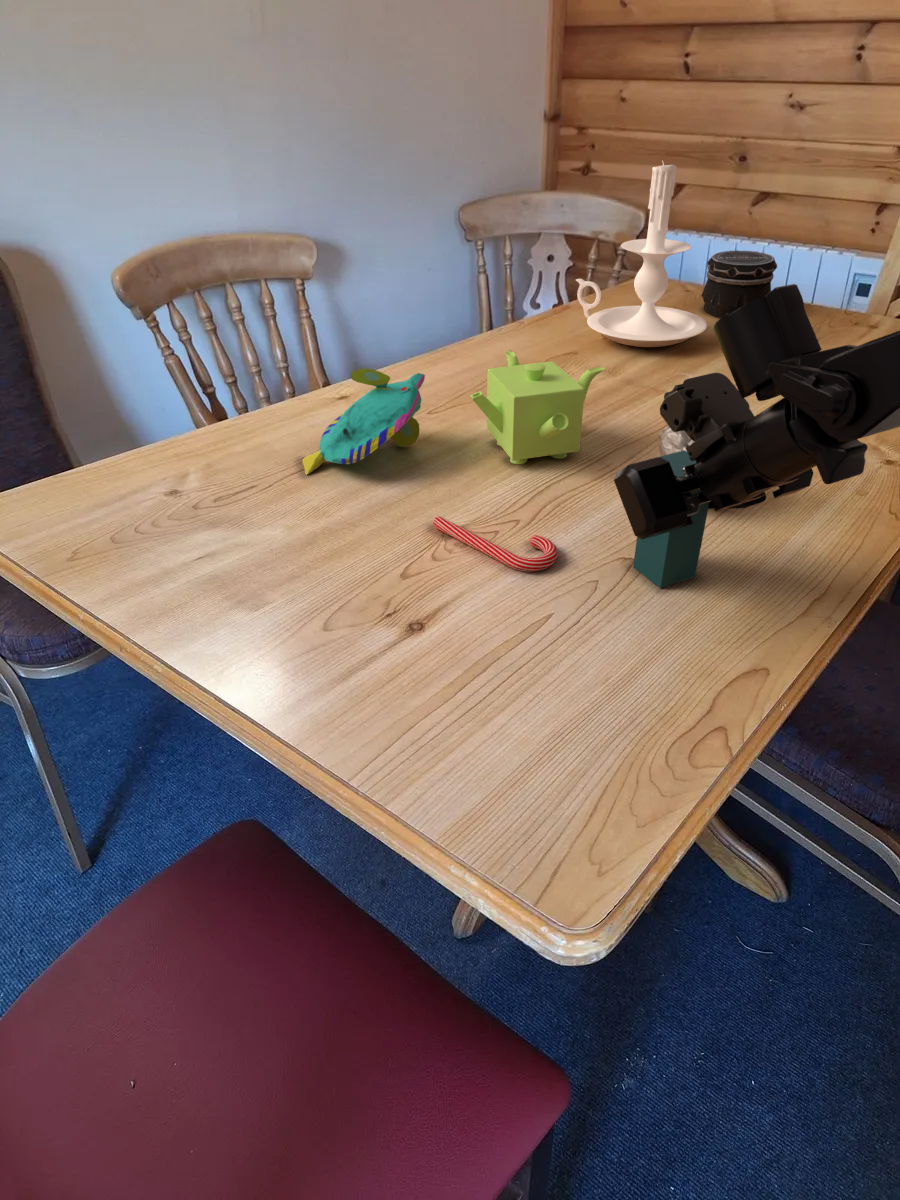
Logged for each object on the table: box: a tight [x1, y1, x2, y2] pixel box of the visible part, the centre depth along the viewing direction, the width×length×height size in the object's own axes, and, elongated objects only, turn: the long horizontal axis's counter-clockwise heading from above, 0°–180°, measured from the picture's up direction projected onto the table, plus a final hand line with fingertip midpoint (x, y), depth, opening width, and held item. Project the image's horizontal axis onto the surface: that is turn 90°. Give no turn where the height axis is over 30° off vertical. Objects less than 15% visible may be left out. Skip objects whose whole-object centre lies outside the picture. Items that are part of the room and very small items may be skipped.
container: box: [701, 250, 778, 319], centre depth 148 cm, size 13×13×10 cm
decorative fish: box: [302, 368, 426, 476], centre depth 99 cm, size 20×12×15 cm
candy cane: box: [432, 516, 559, 572], centre depth 84 cm, size 6×15×2 cm, turn 44°
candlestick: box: [575, 160, 708, 348], centre depth 131 cm, size 21×25×28 cm
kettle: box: [469, 350, 606, 465], centre depth 100 cm, size 15×14×11 cm
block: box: [632, 450, 709, 589], centre depth 75 cm, size 4×4×12 cm
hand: (663, 509), depth 76 cm, fingers closed on block, 4 cm apart
